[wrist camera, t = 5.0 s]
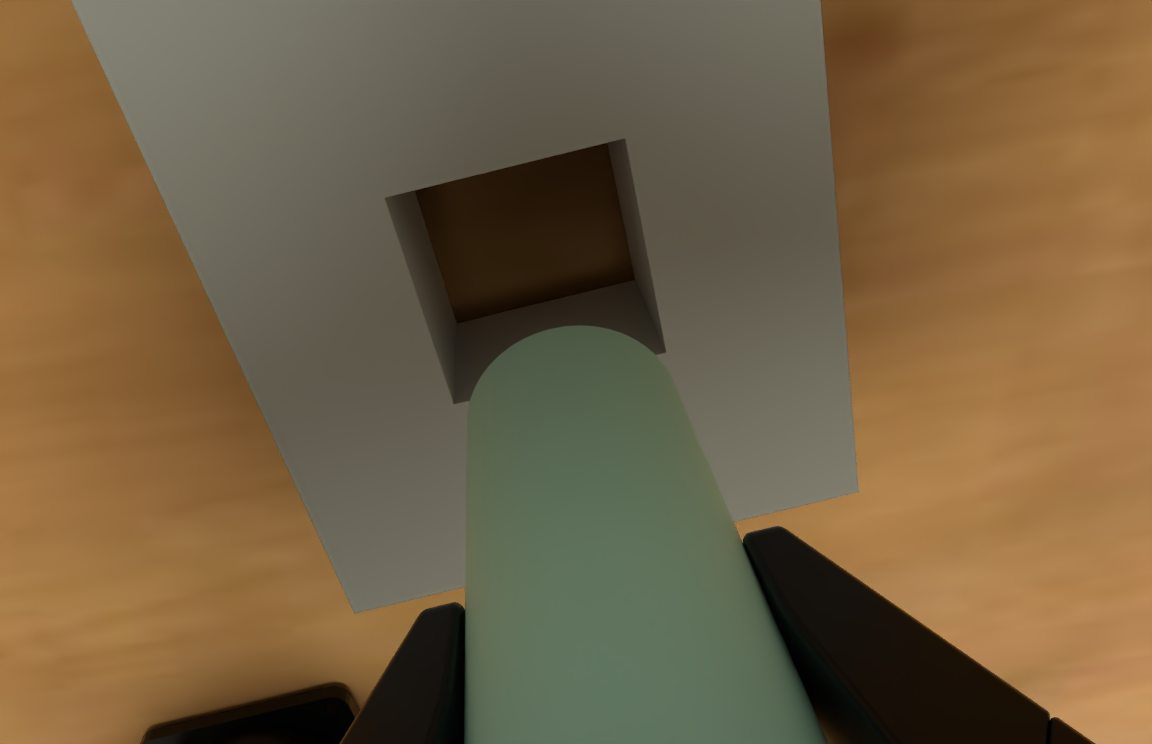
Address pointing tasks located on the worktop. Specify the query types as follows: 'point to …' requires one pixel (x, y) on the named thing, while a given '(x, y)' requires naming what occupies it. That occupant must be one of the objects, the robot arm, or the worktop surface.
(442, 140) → the hole block
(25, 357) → the worktop surface
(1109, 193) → the worktop surface
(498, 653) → the peg
